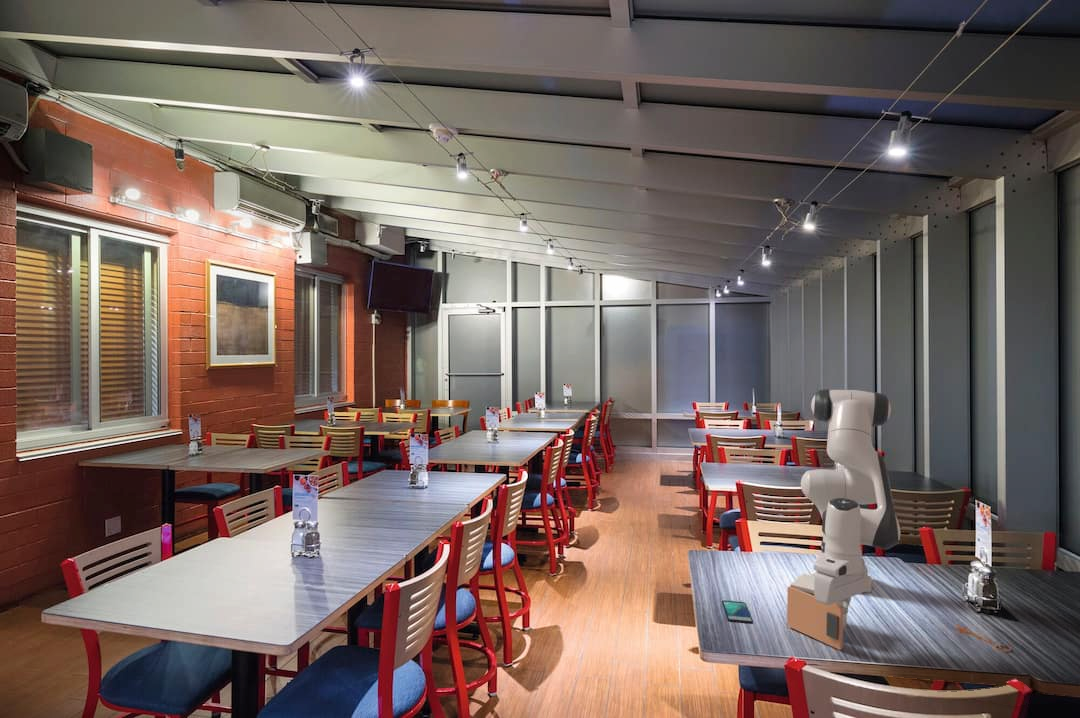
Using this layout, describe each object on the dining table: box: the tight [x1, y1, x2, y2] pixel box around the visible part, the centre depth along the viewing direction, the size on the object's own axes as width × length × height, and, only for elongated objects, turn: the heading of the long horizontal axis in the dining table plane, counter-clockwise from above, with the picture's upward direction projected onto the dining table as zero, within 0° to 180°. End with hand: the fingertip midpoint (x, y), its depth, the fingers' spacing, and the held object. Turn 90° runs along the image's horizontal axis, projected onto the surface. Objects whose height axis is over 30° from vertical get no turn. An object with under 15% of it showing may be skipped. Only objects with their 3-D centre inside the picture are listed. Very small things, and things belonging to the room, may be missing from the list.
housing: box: [789, 573, 848, 630], centre depth 170 cm, size 12×12×12 cm
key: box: [953, 625, 1012, 653], centre depth 163 cm, size 6×1×15 cm
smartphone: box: [721, 599, 754, 625], centre depth 178 cm, size 7×1×15 cm
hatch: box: [786, 585, 844, 651], centre depth 162 cm, size 2×16×11 cm, turn 31°
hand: (841, 613), depth 157 cm, fingers closed
